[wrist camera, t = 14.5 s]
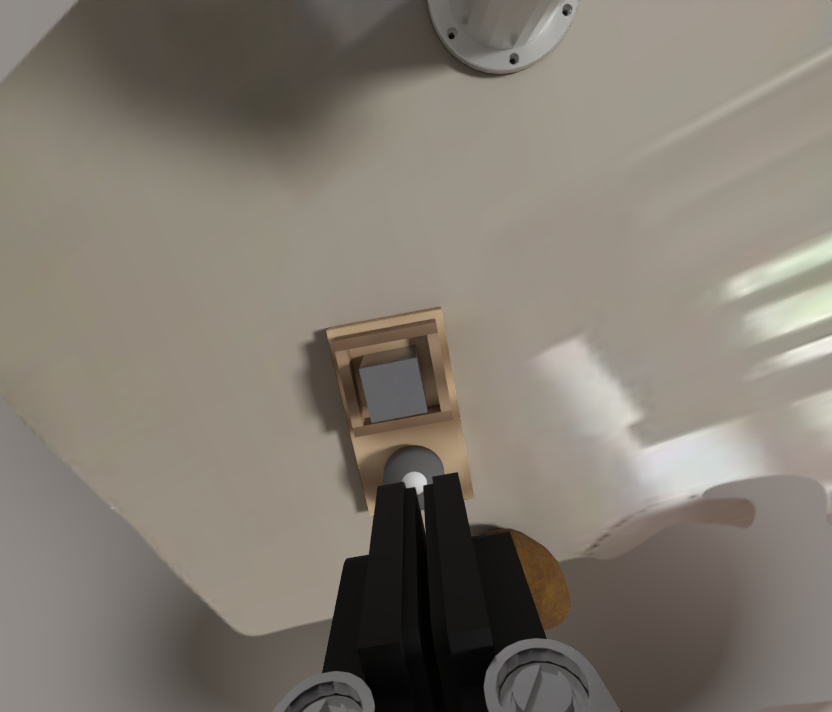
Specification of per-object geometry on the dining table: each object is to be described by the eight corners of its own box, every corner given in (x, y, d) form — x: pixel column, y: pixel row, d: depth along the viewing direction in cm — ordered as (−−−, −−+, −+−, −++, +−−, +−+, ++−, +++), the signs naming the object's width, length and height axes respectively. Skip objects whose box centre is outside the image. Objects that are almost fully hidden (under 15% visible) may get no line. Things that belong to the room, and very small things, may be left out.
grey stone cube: (364, 354, 45) (358, 368, 40) (415, 344, 45) (416, 357, 40) (375, 403, 46) (371, 423, 42) (425, 393, 46) (427, 412, 41)
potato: (500, 499, 51) (515, 544, 43) (580, 563, 53) (609, 617, 46) (449, 549, 52) (456, 602, 45) (530, 610, 55) (550, 669, 47)
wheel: (378, 451, 47) (377, 460, 45) (438, 440, 46) (439, 449, 44) (390, 504, 48) (389, 516, 46) (448, 494, 48) (450, 505, 46)
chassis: (328, 327, 46) (322, 334, 43) (440, 306, 46) (442, 312, 42) (370, 508, 51) (368, 527, 48) (472, 490, 51) (476, 508, 47)
